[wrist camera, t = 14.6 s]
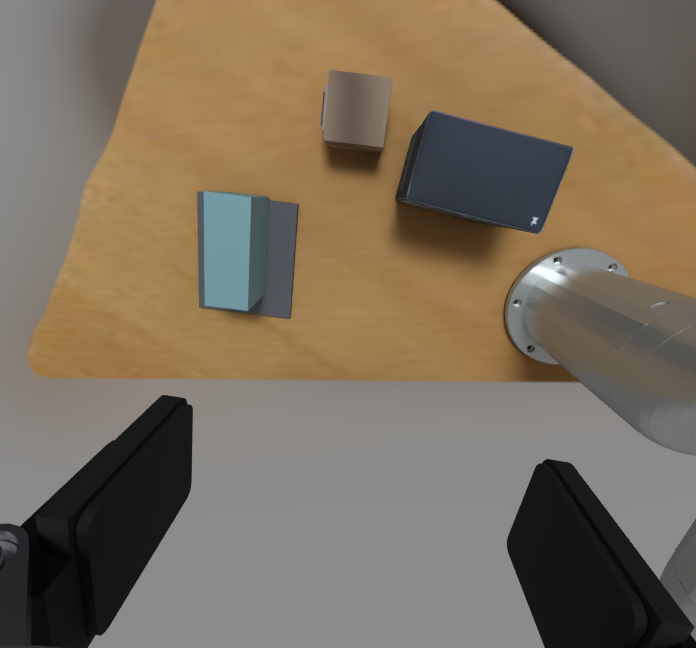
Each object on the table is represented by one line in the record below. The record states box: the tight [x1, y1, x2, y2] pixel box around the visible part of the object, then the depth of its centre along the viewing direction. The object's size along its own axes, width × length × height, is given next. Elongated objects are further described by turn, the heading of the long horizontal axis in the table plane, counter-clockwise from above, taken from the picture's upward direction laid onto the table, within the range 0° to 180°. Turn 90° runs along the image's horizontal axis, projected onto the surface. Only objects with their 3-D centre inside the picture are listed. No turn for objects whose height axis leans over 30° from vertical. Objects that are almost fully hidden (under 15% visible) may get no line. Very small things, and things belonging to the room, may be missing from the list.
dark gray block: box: [197, 192, 299, 318], centre depth 39 cm, size 10×12×1 cm
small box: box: [396, 110, 574, 234], centre depth 31 cm, size 11×6×10 cm, turn 77°
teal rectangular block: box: [204, 191, 269, 311], centre depth 35 cm, size 4×10×6 cm, turn 173°
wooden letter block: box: [321, 70, 393, 154], centre depth 32 cm, size 6×5×5 cm
